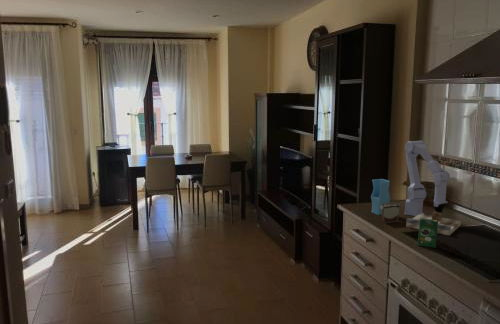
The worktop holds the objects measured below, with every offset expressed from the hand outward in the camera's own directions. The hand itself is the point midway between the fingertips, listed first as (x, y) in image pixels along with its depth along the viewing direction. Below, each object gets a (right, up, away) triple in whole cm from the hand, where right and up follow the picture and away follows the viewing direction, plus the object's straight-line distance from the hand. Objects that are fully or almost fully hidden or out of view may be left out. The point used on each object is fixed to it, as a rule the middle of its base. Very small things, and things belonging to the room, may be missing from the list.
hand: (438, 216), depth 234 cm
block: (-2, -1, -2) cm, 4 cm away
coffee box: (-22, -10, -36) cm, 43 cm away
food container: (-27, -3, +4) cm, 28 cm away
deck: (-5, -4, -6) cm, 9 cm away
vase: (-27, 0, +20) cm, 33 cm away
